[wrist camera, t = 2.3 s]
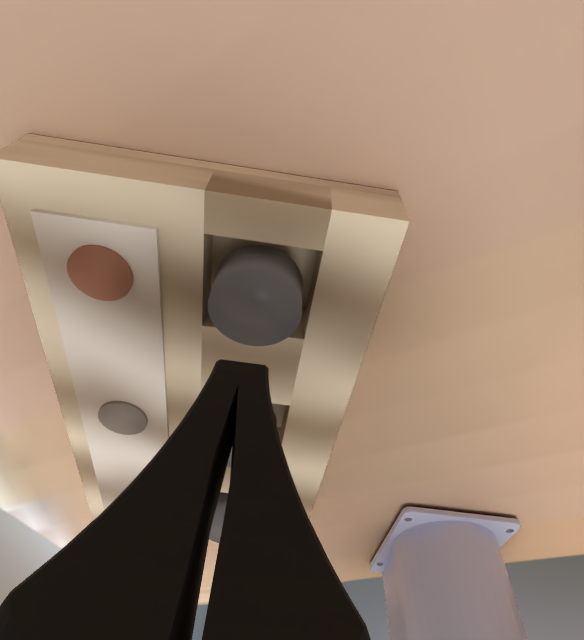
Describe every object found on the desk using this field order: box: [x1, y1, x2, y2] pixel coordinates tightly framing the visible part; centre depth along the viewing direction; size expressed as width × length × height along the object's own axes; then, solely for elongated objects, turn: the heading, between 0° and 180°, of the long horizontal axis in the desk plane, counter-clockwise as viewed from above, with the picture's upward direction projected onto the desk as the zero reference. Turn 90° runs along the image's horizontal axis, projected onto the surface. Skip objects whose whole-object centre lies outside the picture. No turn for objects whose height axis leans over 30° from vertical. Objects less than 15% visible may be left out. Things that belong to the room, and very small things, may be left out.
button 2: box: [209, 492, 228, 543], centre depth 26 cm, size 3×3×2 cm
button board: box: [0, 134, 410, 520], centre depth 22 cm, size 23×13×3 cm, turn 172°
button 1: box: [208, 245, 303, 346], centre depth 16 cm, size 3×3×2 cm
